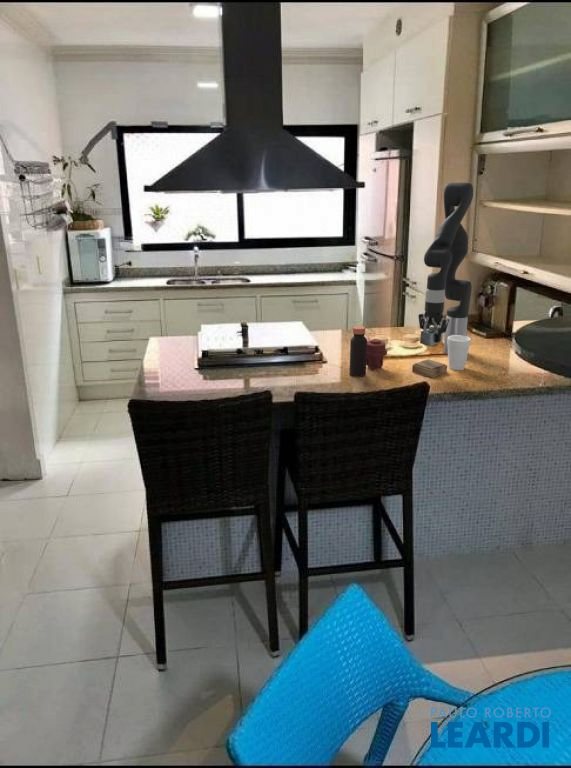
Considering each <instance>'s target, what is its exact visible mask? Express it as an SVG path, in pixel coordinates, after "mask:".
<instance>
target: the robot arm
mask: <svg viewBox="0 0 571 768" xmlns="http://www.w3.org/2000/svg"><path fill="white" fill-rule="evenodd" d="M473 198H474V186H473V184H472V183H470V182H449V183H446V184H445V185H444V188H443V207H444V208H443V209H444V220H443V221H442V223H441V224H440V226H438V230H437V233H436V235H435V239H434V240H433V241H432V242H431V244H430V246H429V247H428V249H426V251H425V253H424V257H423V263H424V265H425V266H426V267H428V268H438V269H439V268H440V270H439V272H432V273H429V274H428V276H427V279H426V280H427V281H426V282H427V283H426V291H425V300H424V313H419V314H418V315H417V316H418V324H419V329H422V331H424V330H427V328H430V327H434V329H435V331H436V336H435V343H438V344H440V343H439V342H440V341H441V334H442V333H443V334H444V342H443V353H444V354H446V355H448V344H447V338H448V337H449V336H452V335H461V336H467V337H468V332H467V330H468V329H467V327H468V318H469V311H470V302H471V297H472V291H473V289H472V288H473V286H472V282H471V281H470V280H465V279H456V273H457V269H458V268H459V266H460V265H461V263H462V262H463V261H464V259H465V258H466V256H467V254H468V252H469V236H468V233H467V231H466V229H465V228H464V226H463V224H462V221H463V219H464V217H465V215H466V214H467V211H468V209H469V208H470V205H471V203H472V201H473ZM455 207H456V209H455ZM446 299H447V301H448V300H449V301H454V302H455V301H457V302H459V304H458V305H457V306H456V305H455V306H452V307H449V308H447V309H446V318H445V317H444V315H443V313H444V311H445V302H446V301H445V300H446Z"/></svg>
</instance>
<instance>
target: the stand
mask: <svg viewBox="0 0 571 768" xmlns="http://www.w3.org/2000/svg"><path fill="white" fill-rule="evenodd" d="M447 371H448V365H447V364H445V363H441V362H438V361H437V360H436V361H435V360H432V359H425V360H422V361H419V362H415V363H414V364H412V373H416V374H418V375H422V376H424V377H425V376H426V377H427V378H434V377H437V376H440V375H443V374H446V373H447Z"/></svg>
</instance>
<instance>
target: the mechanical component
mask: <svg viewBox="0 0 571 768" xmlns="http://www.w3.org/2000/svg"><path fill="white" fill-rule="evenodd" d="M387 354H388V350H387V348H386V342H385V341H383V340H380V339H377V338H374V339H371V340H367V360H366V367H367V368H369V369H371V370H372V371H373V372H375V371H377V370H378V369H382V368H383V365H384V357H385V356H387Z"/></svg>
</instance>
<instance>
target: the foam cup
mask: <svg viewBox="0 0 571 768" xmlns="http://www.w3.org/2000/svg"><path fill="white" fill-rule="evenodd" d="M471 341H472V338H471V337H469V336H468V335H467V336H461V335H452V336H449V337H448V338H447V344H448V354H447V357H448V359H447V360H448V369H450V370H454V371H464V369H465V367H466V363H467V359H468V355H469V350H470V347H471V344H472V342H471Z"/></svg>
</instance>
